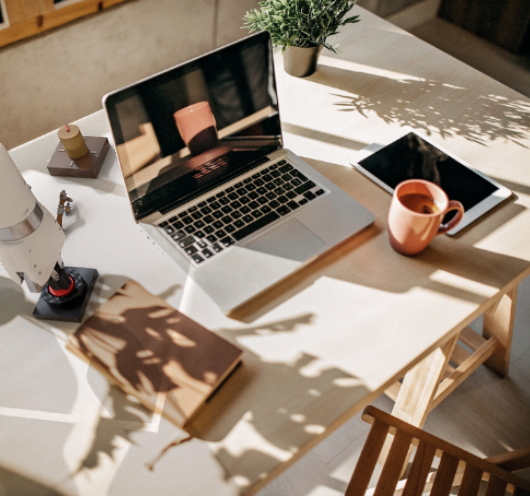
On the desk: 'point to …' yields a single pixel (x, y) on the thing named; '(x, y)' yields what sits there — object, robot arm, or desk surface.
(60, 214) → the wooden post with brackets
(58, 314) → the switch box
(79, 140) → the dimmer knob
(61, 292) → the light button
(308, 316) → the desk surface
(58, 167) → the dimmer console
